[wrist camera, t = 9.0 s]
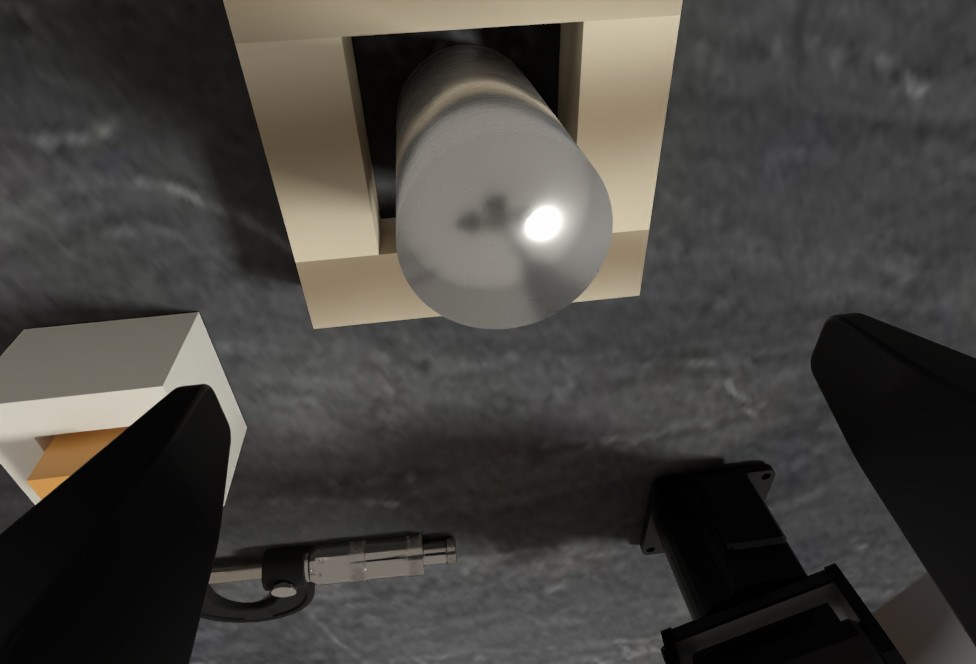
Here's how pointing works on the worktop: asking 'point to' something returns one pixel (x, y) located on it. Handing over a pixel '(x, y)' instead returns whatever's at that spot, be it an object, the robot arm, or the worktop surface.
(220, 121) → the worktop surface
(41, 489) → the button
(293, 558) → the micrometer
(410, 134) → the cylinder
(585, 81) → the pocket plate
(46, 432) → the box
